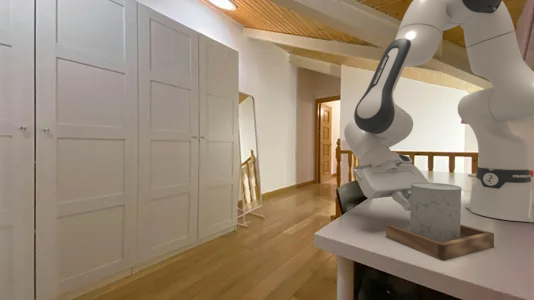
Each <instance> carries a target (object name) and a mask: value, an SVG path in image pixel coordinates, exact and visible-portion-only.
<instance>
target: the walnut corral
mask: <svg viewBox="0 0 534 300" xmlns="http://www.w3.org/2000/svg"><path fill="white" fill-rule="evenodd" d="M385 237H386V238H388V239H390V240H392V241H395V242H397V243H399V244H402V245H405V246H407V247H409V248H412V249H415V250H417V251H419V252H422V253H424V254H426V255H429V256H431V257H434V258H437V259H439V260H441V261H445V260H449V259H453V258H457V257H461V256H465V255H468V254H471V253H477V252H479V251H483V250H486V249H487V250H488V249H491V248H494V247H495V233H494V232H490V231H486V230H482V229H479V228H474V227H471V226H469V225H463V224H461V223H460V239H456V240H452V241H447V242H443V243H441V242H438V241H435V240H432V239H429V238H426V237H424V236H421V235H418V234H415V233H412V232H410V230H406V229H404V228H401V227H397V226H395V225H392V224H386V225H385Z"/></svg>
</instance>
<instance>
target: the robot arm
mask: <svg viewBox="0 0 534 300" xmlns="http://www.w3.org/2000/svg"><path fill="white" fill-rule="evenodd" d="M458 26H460V27H461V29H462V30H463V36H464V37H463V38H464V45H465V49H466V53H467V58H468V63H469V66H470V70H471V72H472V73H473V74H474V75H476V76H477V77H482V78H485V79H486V80H487V81H489V82H490V83H491V85H492V87H489V88H484V89H479V90H477V91H474V92H471V93H469V94H466V95H464V96H463V97H461V99H460V100H459V101H458V105H457V113H458V115H459V118H460V119H461V120H462V121H463V122H465V124H467V125H469V127H470V128H471V129H472V131H473V133H474V135H475V137H476V138H475V139H476V142H477V148H478V149H477V151H478V152H477V153H478V158H477V159H478V163H477V164H478V166H477V167H476V169H475V174H476V175H475V178H476V179H477V180H476V181H475V182H474V183H472V184H471V188H470V189H471V190H470V199H469V204H465V208H466V209H468V210H469V211H470V212H471V213H473V214H476V215H479V216H484V217H486V218H487V217H488V218H491V219H492V218H493V219H497V220H498V219H499V220H505V221H513V222H514V221H515V222H525V223H526V222H527V223H534V186H533V185H532V183H531V182H532V178H533V177H534V170H532V169H529V168H528V166H529V145H528V143H527V141H526V140H525V139H524V138H523V137H520V136H518V135H516V134H515V133H513V132H512V130H511V129H510V125H509V123H511V122H525V121H533V120H534V70H533V69H531V67H530V66H528V64H527V63H526V62H525V60H524V58H523V56H522V53H521V50H520V47H519V43H518V38H517V35H516V30H515V26H514V23H513V19H512V17H511V13H510V12H509V10H508V7H507V6H506V3H505V2H504V1H503V0H412V1H411V3H410V4H409V6H408V8H407V10H406V11H405V13H404V15H403V18H402V20H401V22H400V25H399V27H398V30H397V34H396V36H395V38H394V40H393V41H392V42H391V43H389V45H388V46H387V47H386V49H385V50H384V52H383V54H382V55H381V58H380V61H379V62H378V65H377V67H376V69H375V70H374V74H373V76H372V78H371V81H370V83H369V85H368V87H367V89H366V91H365V92H364V94H363V95H362V96H361V98H360V99H359V101H358V103H357V104H356V107H355V109H354V114H353V119H351V120H350V121H349V122H348V123H347V124H346V126H345V128H344V132H343V133H344V139H345V141H346V143H347V145H348V147H349V149H350V151H351V153H352V154H353V156H355V157H356V158H357V159H358V160H359V164H360V165H356V166H355V167H354V169H353V173H354V176H355V177H356V180H357V184H358V185H359V187H360V190H361V191H362V193H363V196H365V197H366V198H367V199H369V200H373V199H380V198H382V199H383V198H390V197H391V198H392V200H394V201H395V202H396V203H398V205H400V206H401V207H402V208H403V209H404V211H411V183H417V182H427V183H430V181H428V179H427V178H426V176H425V175H424V174H423V173H422V172H421V170H420V169H419V168H418V167H417V166H416V165H414V164H412V163H413V160H412V158H411V157H410V156H407V155H404V154H400V153H398V152H396V151H394V150H391V147H393V146H395V145H397V144H399V143H400V142H402V141H404V140H405V139H406V138H408V136H409V135H410V134H411V133H412V131H413V127H414V121H413V118H412V116H411V114H409V113H408V112H406V111H405V109H403V108H402V107H400V106H399V105H398V104H396V103H395V99H394V92H395V89H396V87H397V84H398V82H399V80H400V79H401V76H402V73H403V71H404V69H405V68H406V67H407V68H408V67H417V66H422V65H424V64H426V63H427V62H429V61H430V60H432V58H433V57H434V55H435V54H436V52H437V50H438V48H439V45H440V42H441V40H442V39H441V38H442V36H443V33H444V32H446V31H447V30H451V29H453V28H455V27H458Z"/></svg>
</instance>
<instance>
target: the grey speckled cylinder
mask: <svg viewBox="0 0 534 300" xmlns="http://www.w3.org/2000/svg"><path fill="white" fill-rule="evenodd" d="M462 190H463V189H462V187H461V186H458V185H455V184H449V183H439V182H429V183H427V182H417V183H411V210H409V211H410V216H409V217H410V218H409V221H410V222H409V224H410V225H409V232H412V233H415V234H418V235H421V236H424V237H426V238H429V239H432V240H435V241H438V242H441V243H443V242H447V241H452V240H456V239H460V224H461V221H462V220H461V217H462V216H461V215H462V212H461V211H462Z"/></svg>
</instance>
